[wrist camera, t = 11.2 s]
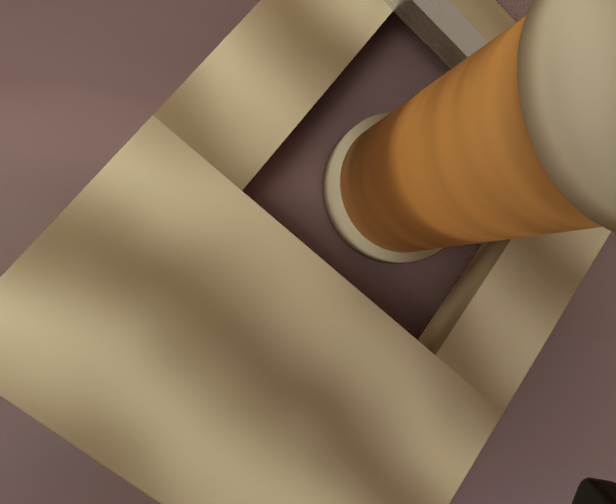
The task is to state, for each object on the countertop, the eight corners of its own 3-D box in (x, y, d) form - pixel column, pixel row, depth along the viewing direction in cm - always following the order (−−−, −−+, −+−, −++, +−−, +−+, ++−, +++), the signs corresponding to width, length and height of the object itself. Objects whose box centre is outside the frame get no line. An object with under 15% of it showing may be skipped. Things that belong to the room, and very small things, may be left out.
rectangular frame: (346, 609, 21) (366, 642, 19) (-44, 342, 17) (-68, 349, 15) (613, 175, 26) (649, 166, 25) (359, -92, 23) (378, -126, 21)
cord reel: (361, 288, 22) (637, 290, 10) (297, 150, 21) (501, -34, 9) (475, 226, 24) (829, 161, 11) (418, 99, 23) (724, -113, 11)
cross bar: (593, 223, 23) (624, 219, 22) (332, -38, 20) (347, -64, 19) (613, 191, 24) (644, 184, 22) (361, -69, 21) (378, -97, 19)
